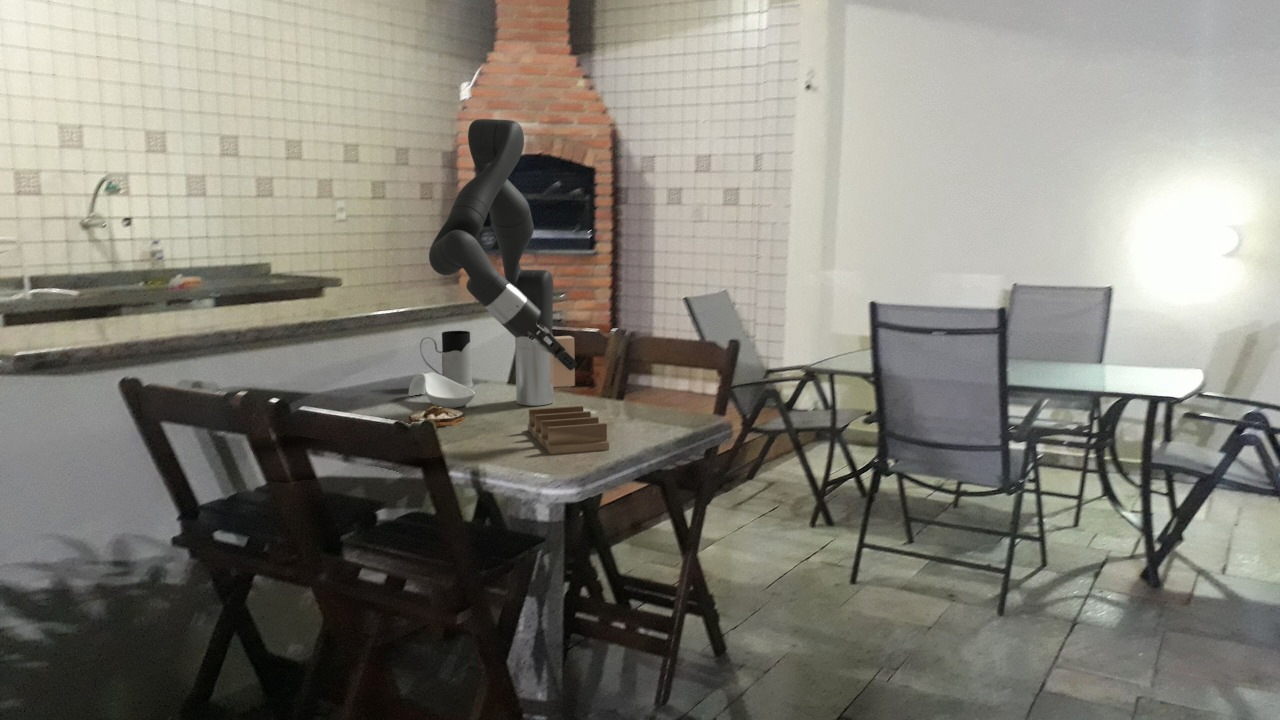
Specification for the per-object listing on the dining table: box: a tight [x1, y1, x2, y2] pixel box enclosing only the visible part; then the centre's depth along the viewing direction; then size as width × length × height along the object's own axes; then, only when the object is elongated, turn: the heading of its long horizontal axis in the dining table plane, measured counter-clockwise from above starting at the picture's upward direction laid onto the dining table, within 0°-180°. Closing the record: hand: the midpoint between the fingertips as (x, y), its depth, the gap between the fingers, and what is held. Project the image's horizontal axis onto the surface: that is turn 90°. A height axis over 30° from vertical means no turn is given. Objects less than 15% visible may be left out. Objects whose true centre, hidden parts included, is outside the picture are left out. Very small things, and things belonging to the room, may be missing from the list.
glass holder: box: [419, 330, 474, 388], centre depth 256 cm, size 9×14×15 cm, turn 91°
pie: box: [408, 405, 466, 429], centre depth 215 cm, size 15×15×4 cm
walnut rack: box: [527, 405, 610, 455], centre depth 198 cm, size 22×12×5 cm, turn 19°
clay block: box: [549, 335, 576, 388], centre depth 195 cm, size 4×4×10 cm
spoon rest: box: [407, 371, 476, 409], centre depth 236 cm, size 24×12×7 cm, turn 42°
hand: (571, 365), depth 196 cm, fingers closed on clay block, 3 cm apart
